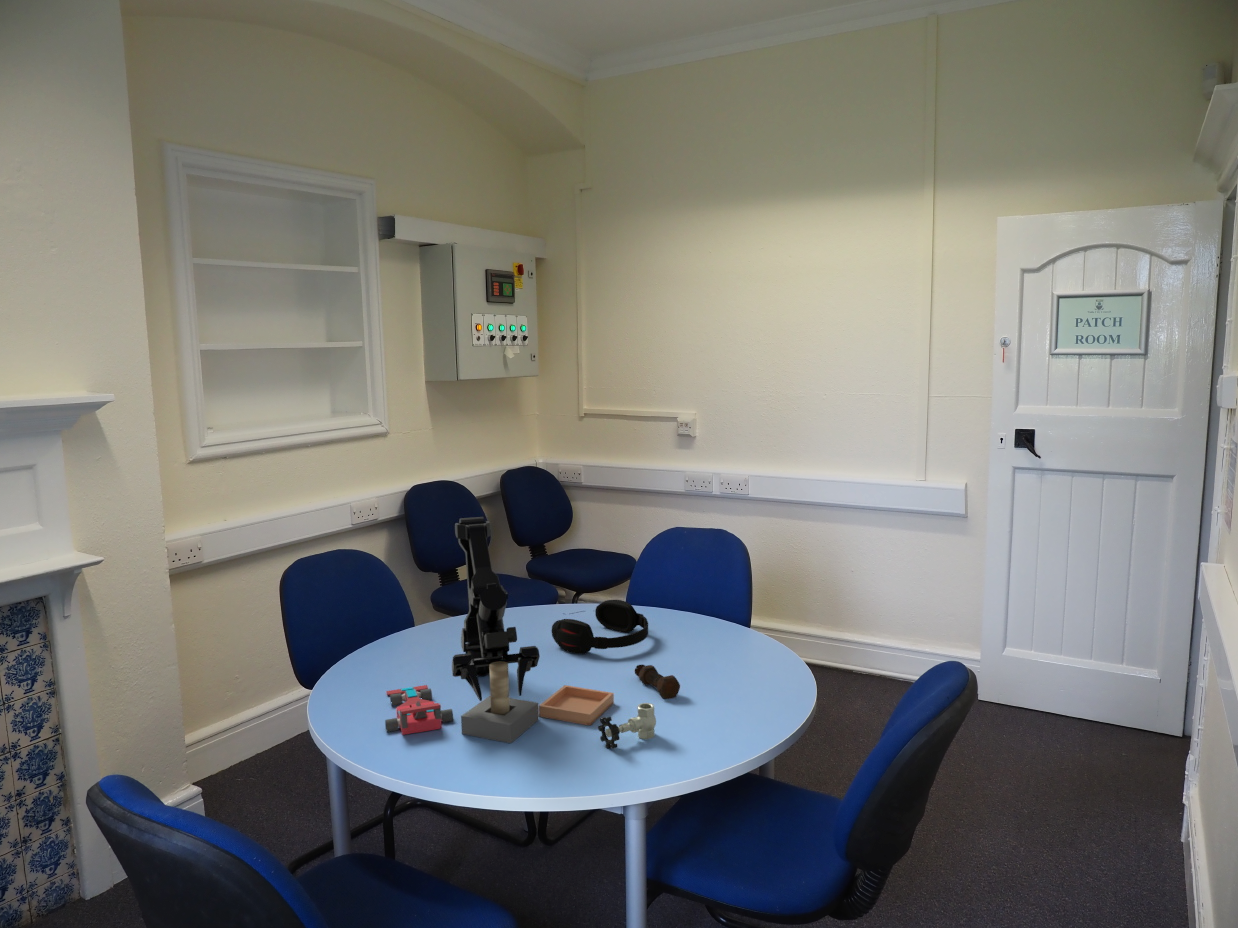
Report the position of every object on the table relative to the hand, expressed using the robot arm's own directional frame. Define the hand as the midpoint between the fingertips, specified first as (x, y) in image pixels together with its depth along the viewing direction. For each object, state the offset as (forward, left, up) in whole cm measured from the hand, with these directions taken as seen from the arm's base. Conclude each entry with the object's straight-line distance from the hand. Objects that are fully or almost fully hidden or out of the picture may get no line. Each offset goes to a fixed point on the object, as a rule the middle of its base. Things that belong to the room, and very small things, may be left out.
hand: (500, 697), depth 179 cm
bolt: (+22, +34, -8) cm, 41 cm away
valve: (+28, +6, -7) cm, 29 cm away
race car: (-24, +1, -8) cm, 25 cm away
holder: (-1, +1, -7) cm, 7 cm away
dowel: (-1, +1, -7) cm, 7 cm away
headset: (-5, +60, -8) cm, 61 cm away
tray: (+11, +15, -7) cm, 20 cm away
